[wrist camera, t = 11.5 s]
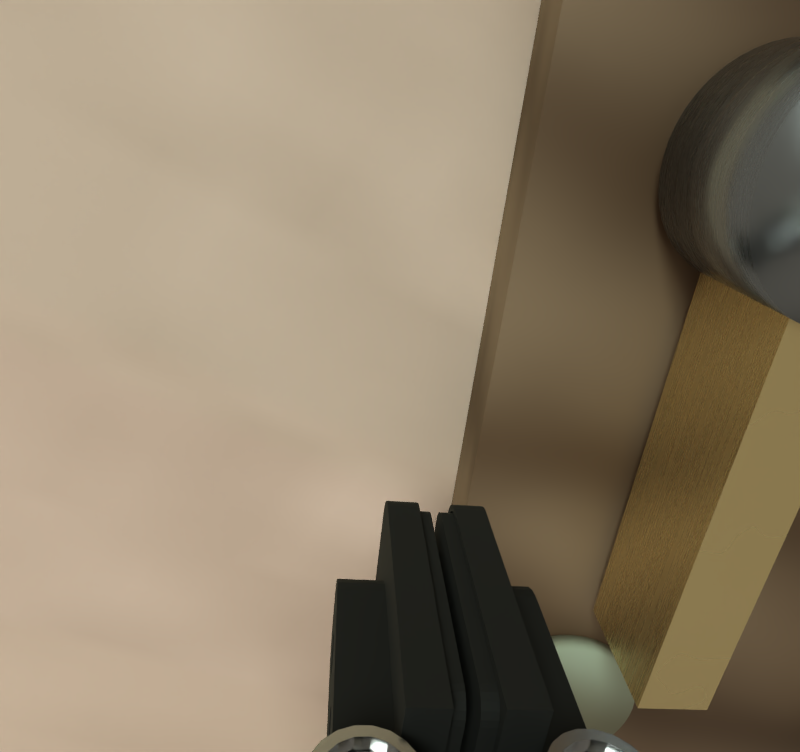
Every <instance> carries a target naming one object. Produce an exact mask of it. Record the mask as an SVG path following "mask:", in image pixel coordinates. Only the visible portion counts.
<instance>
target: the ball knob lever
mask: <svg viewBox="0 0 800 752" xmlns="http://www.w3.org/2000/svg"><path fill="white" fill-rule="evenodd" d="M658 191H659V207H660V213H661V219H662V222H663V225H664V228H665V231H666V233H667V235H668V237H669V239H670V241H671V243H672V245H673V246H674V248H675V249H676V251H677V252H678V253H679V255H680V256H681V257H682V258H683V259H684V260H685V261H686V262H687V263H688V264H689V265H691V266H692V267H693V268H695V269H696V270H697V271H699V272H701V273H700V276H699V279H698V282H697V285H696V288H695V291H694V295H693V298H692V301H691V304H690V307H689V310H688V313H687V317H686V320H685V323H684V326H683V329H682V332H681V335H680V339H679V342H678V345H677V348H676V351H675V354H674V357H673V361H672V364H671V367H670V370H669V373H668V376H667V379H666V383H665V386H664V389H663V392H662V395H661V398H660V401H659V405H658V408H657V411H656V414H655V417H654V420H653V424H652V427H651V430H650V433H649V436H648V439H647V442H646V446H645V449H644V452H643V455H642V458H641V461H640V464H639V468H638V471H637V474H636V477H635V480H634V483H633V486H632V490H631V493H630V496H629V499H628V502H627V505H626V508H625V512H624V515H623V518H622V521H621V524H620V527H619V530H618V534H617V537H616V540H615V543H614V546H613V549H612V553H611V556H610V559H609V562H608V565H607V568H606V571H605V575H604V578H603V581H602V584H601V587H600V590H599V593H598V597H597V600H596V603H595V606H594V609H593V611H594V614H595V616H596V618H597V620H598V622H599V624H600V627H601V629H602V631H603V633H604V635H605V638H606V640H607V642H608V644H609V646H610V649H611V651H612V653H613V655H614V657H615V660H616V662H617V664H618V666H619V668H620V671H621V673H622V675H623V677H624V679H625V682H626V684H627V686H628V688H629V690H630V693H631V695H632V697H633V699H634V701H635V704H636V706H637V708H647V709H688V710H707V709H708V707H709V705H710V702H711V700H712V698H713V696H714V694H715V691H716V689H717V687H718V685H719V683H720V680H721V678H722V676H723V674H724V672H725V670H726V667H727V665H728V663H729V661H730V659H731V656H732V654H733V652H734V650H735V648H736V645H737V643H738V641H739V639H740V637H741V635H742V632H743V630H744V628H745V626H746V624H747V621H748V619H749V617H750V615H751V613H752V610H753V608H754V606H755V604H756V602H757V599H758V597H759V595H760V593H761V591H762V589H763V586H764V584H765V582H766V580H767V578H768V575H769V573H770V571H771V569H772V567H773V564H774V562H775V560H776V558H777V556H778V554H779V551H780V549H781V547H782V545H783V543H784V540H785V538H786V536H787V534H788V532H789V529H790V527H791V525H792V523H793V521H794V518H795V516H796V514H797V512H798V510H799V508H800V36H797V37H790V38H785V39H781V40H776V41H772V42H769V43H767V44H764V45H761V46H759V47H756V48H754V49H752V50H750V51H748V52H746V53H745V54H743V55H741V56H739V57H738V58H736V59H735V60H733V61H732V62H730V63H729V64H727V65H726V66H724V67H723V68H722V69H721V70H720V71H719V72H717V73H716V74H715V75H714V76H713V77H712V78H711V79H709V80H708V82H707V83H706V84H705V85H704V86H703V87H702V88H701V89H700V90H699V91H698V92H697V93H696V95H695V96H694V97H693V99H692V100H691V102H690V103H689V104H688V106H687V107H686V108H685V110H684V112H683V113H682V115H681V117H680V118H679V120H678V122H677V123H676V125H675V128H674V130H673V132H672V134H671V136H670V138H669V141H668V144H667V147H666V150H665V153H664V156H663V160H662V165H661V170H660V177H659V188H658Z"/></svg>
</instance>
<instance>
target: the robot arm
mask: <svg viewBox="0 0 800 752" xmlns="http://www.w3.org/2000/svg"><path fill="white" fill-rule="evenodd" d="M312 752H639V751H637V750H636V749H635V748H634V747H633V746H632V745H630V744H629V743H627V742H625V741H623V740H622V739H620V738H618V737H616V736H614V735H613V734H609V733H606V732H603V731H599V730H596V729H587V728H586V726H585V723H584V721H583V718H582V715H581V713H580V710H579V708H578V705H577V702H576V700H575V697H574V695H573V692H572V689H571V687H570V684H569V682H568V679H567V676H566V674H565V671H564V669H563V666H562V663H561V661H560V658H559V656H558V653H557V650H556V648H555V645H554V643H553V640H552V637H551V635H550V632H549V630H548V627H547V624H546V622H545V619H544V617H543V614H542V611H541V609H540V606H539V604H538V601H537V598H536V596H535V594H534V592H533V590H532V589H531V588H529V587H523V586H511V584H510V581H509V578H508V575H507V572H506V569H505V566H504V563H503V560H502V557H501V554H500V551H499V548H498V545H497V542H496V540H495V537H494V534H493V531H492V528H491V525H490V522H489V519H488V516H487V513H486V510H485V508H484V507H483V506H469V505H451V506H450V508H449V511H448V513H440V512H439V513H438V516H437V520H436V527H435V533H434V528H433V523H432V518H431V513H430V512H422V511H420V508H419V504H418V503H414V502H396V501H386V503H385V508H384V515H383V523H382V532H381V540H380V549H379V557H378V565H377V574H376V580H352V579H337V583H336V592H335V603H334V615H333V627H332V641H331V657H330V678H329V701H328V724H327V737H326V738H324V739H323V740H321V742H320V743H319V744H318V745H317V746H316V747H315V749H314V750H313V751H312Z"/></svg>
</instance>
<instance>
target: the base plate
mask: <svg viewBox="0 0 800 752" xmlns="http://www.w3.org/2000/svg"><path fill="white" fill-rule="evenodd" d="M797 36H800V0H541V6H540V12H539V17H538V23H537V28H536V34H535V40H534V45H533V51H532V57H531V62H530V68H529V73H528V79H527V85H526V90H525V96H524V101H523V107H522V113H521V118H520V124H519V130H518V135H517V141H516V146H515V152H514V158H513V163H512V169H511V174H510V180H509V186H508V191H507V197H506V203H505V208H504V214H503V219H502V225H501V231H500V236H499V242H498V247H497V253H496V259H495V264H494V270H493V276H492V281H491V287H490V292H489V298H488V304H487V309H486V315H485V320H484V326H483V332H482V337H481V343H480V349H479V354H478V360H477V365H476V371H475V377H474V382H473V388H472V393H471V399H470V405H469V410H468V416H467V422H466V427H465V433H464V438H463V444H462V450H461V455H460V461H459V466H458V472H457V478H456V483H455V489H454V495H453V500H452V505H469V506H483V507H484V508H485V510H486V513H487V516H488V519H489V522H490V525H491V528H492V531H493V534H494V537H495V540H496V542H497V545H498V548H499V551H500V554H501V557H502V560H503V563H504V566H505V569H506V572H507V575H508V578H509V581H510V584H511V586H523V587H529V588H531V589H532V590H533V592H534V594H535V596H536V598H537V601H538V604H539V606H540V609H541V611H542V614H543V617H544V619H545V622H546V624H547V627H548V630H549V632H550V635H551V637H552V640H553V643H554V645H555V648H556V650H557V653H558V656H559V658H560V661H561V663H562V666H563V669H564V671H565V674H566V676H567V679H568V682H569V684H570V687H571V689H572V692H573V695H574V697H575V700H576V702H577V705H578V708H579V710H580V713H581V715H582V718H583V721H584V723H585V726H586V728H587V729H596V730H599V731H603V732H606V733H609V734H613V735H614V736H616V737H618V738H620V739H622V740H623V741H625V742H627V743H629V744H630V745H632V746H633V747H634V748H635V749H636V750H637V751H639V752H800V508H799V510H798V512H797V514H796V516H795V518H794V521H793V523H792V525H791V527H790V529H789V532H788V534H787V536H786V538H785V540H784V543H783V545H782V547H781V549H780V551H779V554H778V556H777V558H776V560H775V562H774V564H773V567H772V569H771V571H770V573H769V575H768V578H767V580H766V582H765V584H764V586H763V589H762V591H761V593H760V595H759V597H758V599H757V602H756V604H755V606H754V608H753V610H752V613H751V615H750V617H749V619H748V621H747V624H746V626H745V628H744V630H743V632H742V635H741V637H740V639H739V641H738V643H737V645H736V648H735V650H734V652H733V654H732V656H731V659H730V661H729V663H728V665H727V667H726V670H725V672H724V674H723V676H722V678H721V680H720V683H719V685H718V687H717V689H716V691H715V694H714V696H713V698H712V700H711V702H710V705H709V707H708V709H707V710H688V709H647V708H637V706H636V704H635V701H634V699H633V697H632V695H631V693H630V690H629V688H628V686H627V684H626V682H625V679H624V677H623V675H622V673H621V671H620V668H619V666H618V664H617V662H616V660H615V657H614V655H613V653H612V651H611V649H610V646H609V644H608V642H607V640H606V638H605V635H604V633H603V631H602V629H601V627H600V624H599V622H598V620H597V618H596V616H595V614H594V611H593V609H594V606H595V603H596V600H597V597H598V593H599V590H600V587H601V584H602V581H603V578H604V575H605V571H606V568H607V565H608V562H609V559H610V556H611V553H612V549H613V546H614V543H615V540H616V537H617V534H618V530H619V527H620V524H621V521H622V518H623V515H624V512H625V508H626V505H627V502H628V499H629V496H630V493H631V490H632V486H633V483H634V480H635V477H636V474H637V471H638V468H639V464H640V461H641V458H642V455H643V452H644V449H645V446H646V442H647V439H648V436H649V433H650V430H651V427H652V424H653V420H654V417H655V414H656V411H657V408H658V405H659V401H660V398H661V395H662V392H663V389H664V386H665V383H666V379H667V376H668V373H669V370H670V367H671V364H672V361H673V357H674V354H675V351H676V348H677V345H678V342H679V339H680V335H681V332H682V329H683V326H684V323H685V320H686V317H687V313H688V310H689V307H690V304H691V301H692V298H693V295H694V291H695V288H696V285H697V282H698V279H699V276H700V273H701V272H699V271H697V270H696V269H695V268H693V267H692V266H691V265H689V264H688V263H687V262H686V261H685V260H684V259H683V258H682V257H681V256H680V255H679V253H678V252H677V251H676V249H675V248H674V246H673V245H672V243H671V241H670V239H669V237H668V235H667V233H666V231H665V228H664V225H663V222H662V219H661V213H660V207H659V191H658V188H659V177H660V170H661V165H662V160H663V156H664V153H665V150H666V147H667V144H668V141H669V138H670V136H671V134H672V132H673V130H674V128H675V125H676V123H677V122H678V120H679V118H680V117H681V115H682V113H683V112H684V110H685V108H686V107H687V106H688V104H689V103H690V102H691V100H692V99H693V97H694V96H695V95H696V93H697V92H698V91H699V90H700V89H701V88H702V87H703V86H704V85H705V84H706V83H707V82H708V80H709V79H711V78H712V77H713V76H714V75H715V74H716V73H717V72H719V71H720V70H721V69H722V68H723V67H724V66H726V65H727V64H729V63H730V62H732V61H733V60H735V59H736V58H738V57H739V56H741V55H743V54H745V53H746V52H748V51H750V50H752V49H754V48H756V47H759V46H761V45H764V44H767V43H769V42H772V41H776V40H781V39H785V38H790V37H797Z"/></svg>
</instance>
